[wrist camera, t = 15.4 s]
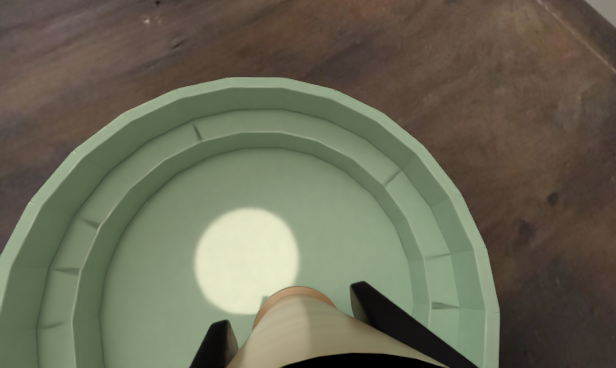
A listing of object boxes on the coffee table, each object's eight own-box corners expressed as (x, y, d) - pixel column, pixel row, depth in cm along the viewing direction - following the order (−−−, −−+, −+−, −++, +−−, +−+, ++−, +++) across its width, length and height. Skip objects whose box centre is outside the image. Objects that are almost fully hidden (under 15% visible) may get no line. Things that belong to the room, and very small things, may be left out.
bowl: (507, 425, 15) (596, 482, 11) (86, 613, 12) (-23, 793, 8) (369, 93, 20) (391, 42, 16) (51, 168, 17) (-27, 131, 13)
